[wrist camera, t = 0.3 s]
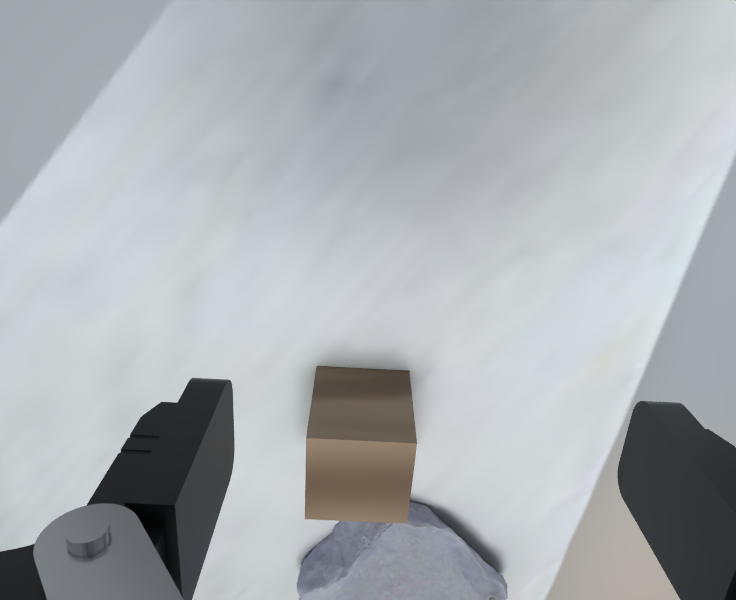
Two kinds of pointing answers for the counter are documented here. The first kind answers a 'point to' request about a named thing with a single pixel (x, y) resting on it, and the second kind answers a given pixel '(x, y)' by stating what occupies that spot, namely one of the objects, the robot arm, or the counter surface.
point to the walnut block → (360, 445)
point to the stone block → (397, 563)
